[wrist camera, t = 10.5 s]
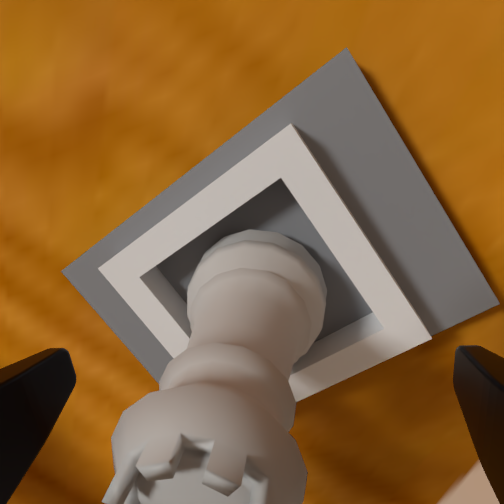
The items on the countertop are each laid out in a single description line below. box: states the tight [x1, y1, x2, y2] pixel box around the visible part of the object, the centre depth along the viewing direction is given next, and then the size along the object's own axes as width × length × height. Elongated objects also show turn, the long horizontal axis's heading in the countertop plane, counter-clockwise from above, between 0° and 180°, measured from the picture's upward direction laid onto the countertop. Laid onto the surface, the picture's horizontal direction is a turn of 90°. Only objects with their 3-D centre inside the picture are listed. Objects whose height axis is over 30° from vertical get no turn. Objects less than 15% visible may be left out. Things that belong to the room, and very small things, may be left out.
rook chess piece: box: [102, 229, 327, 504], centre depth 9 cm, size 4×4×8 cm
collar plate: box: [61, 48, 500, 402], centre depth 12 cm, size 12×9×2 cm
